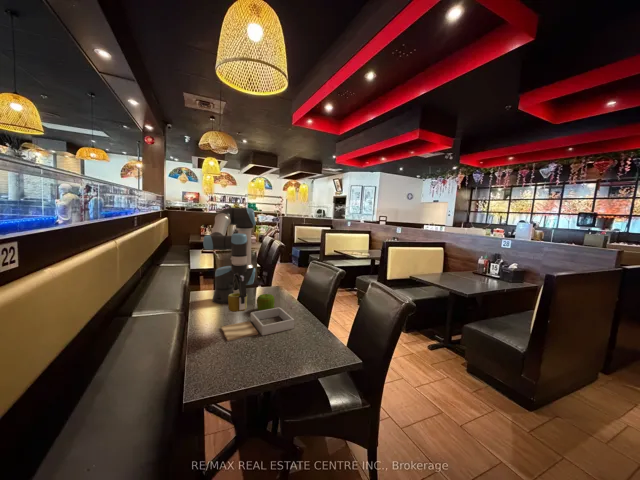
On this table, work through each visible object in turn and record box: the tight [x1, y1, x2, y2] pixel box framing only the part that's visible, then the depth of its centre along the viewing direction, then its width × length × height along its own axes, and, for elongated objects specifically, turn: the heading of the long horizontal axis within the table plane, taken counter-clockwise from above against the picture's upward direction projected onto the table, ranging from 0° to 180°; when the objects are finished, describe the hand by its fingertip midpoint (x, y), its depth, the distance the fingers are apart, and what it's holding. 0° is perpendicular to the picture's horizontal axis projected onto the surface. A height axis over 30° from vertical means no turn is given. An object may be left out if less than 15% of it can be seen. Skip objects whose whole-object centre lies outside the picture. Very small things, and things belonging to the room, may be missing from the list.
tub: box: [250, 306, 295, 336], centre depth 143 cm, size 20×18×5 cm
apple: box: [256, 293, 276, 311], centre depth 163 cm, size 11×11×11 cm
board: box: [220, 320, 259, 342], centre depth 134 cm, size 15×15×1 cm
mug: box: [227, 293, 248, 313], centre depth 132 cm, size 12×10×10 cm
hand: (239, 305), depth 133 cm, fingers closed on mug, 11 cm apart
